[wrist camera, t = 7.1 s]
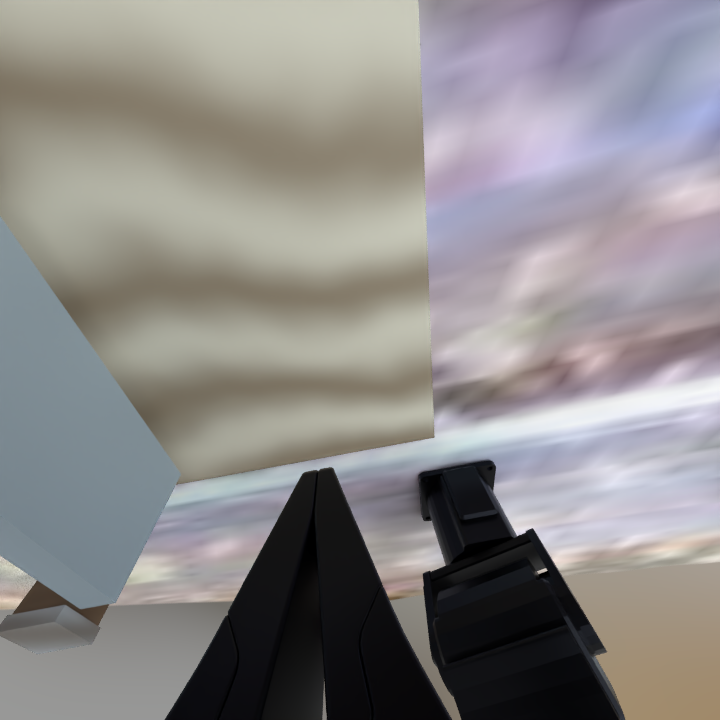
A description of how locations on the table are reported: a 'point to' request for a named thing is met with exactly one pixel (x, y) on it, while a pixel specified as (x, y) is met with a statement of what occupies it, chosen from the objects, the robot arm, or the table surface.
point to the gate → (68, 448)
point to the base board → (230, 214)
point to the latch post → (51, 622)
